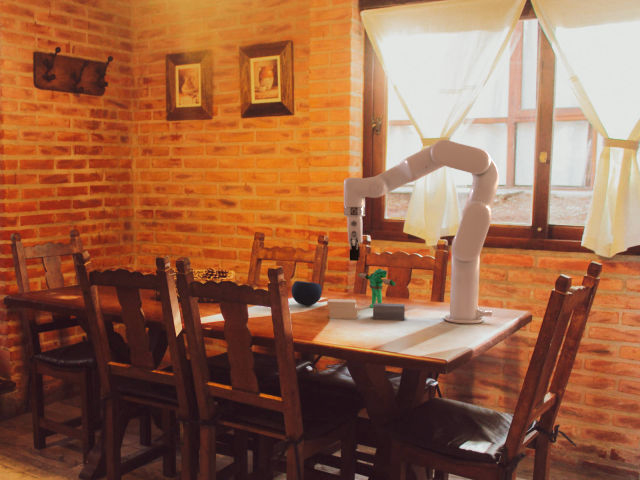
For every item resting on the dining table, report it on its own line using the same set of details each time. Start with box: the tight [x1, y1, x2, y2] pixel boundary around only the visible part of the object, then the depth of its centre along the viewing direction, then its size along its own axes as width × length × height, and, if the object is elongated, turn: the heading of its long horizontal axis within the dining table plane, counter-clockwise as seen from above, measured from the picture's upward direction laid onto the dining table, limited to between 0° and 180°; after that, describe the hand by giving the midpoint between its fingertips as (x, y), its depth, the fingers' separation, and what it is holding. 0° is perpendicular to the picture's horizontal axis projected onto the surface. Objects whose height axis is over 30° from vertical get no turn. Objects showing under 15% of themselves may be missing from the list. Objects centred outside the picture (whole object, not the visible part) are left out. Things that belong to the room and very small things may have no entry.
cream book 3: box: [328, 311, 359, 320], centre depth 272 cm, size 10×6×2 cm, turn 78°
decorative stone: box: [291, 280, 323, 307], centre depth 294 cm, size 12×12×10 cm
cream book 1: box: [326, 298, 357, 308], centre depth 272 cm, size 10×6×2 cm, turn 78°
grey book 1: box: [372, 302, 406, 313], centre depth 269 cm, size 11×5×2 cm, turn 78°
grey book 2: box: [372, 311, 405, 321], centre depth 269 cm, size 11×5×2 cm, turn 78°
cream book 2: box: [328, 304, 359, 314], centre depth 272 cm, size 10×6×2 cm, turn 78°
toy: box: [358, 268, 396, 309], centre depth 288 cm, size 26×6×15 cm, turn 22°
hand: (354, 259), depth 272 cm, fingers open, 9 cm apart
